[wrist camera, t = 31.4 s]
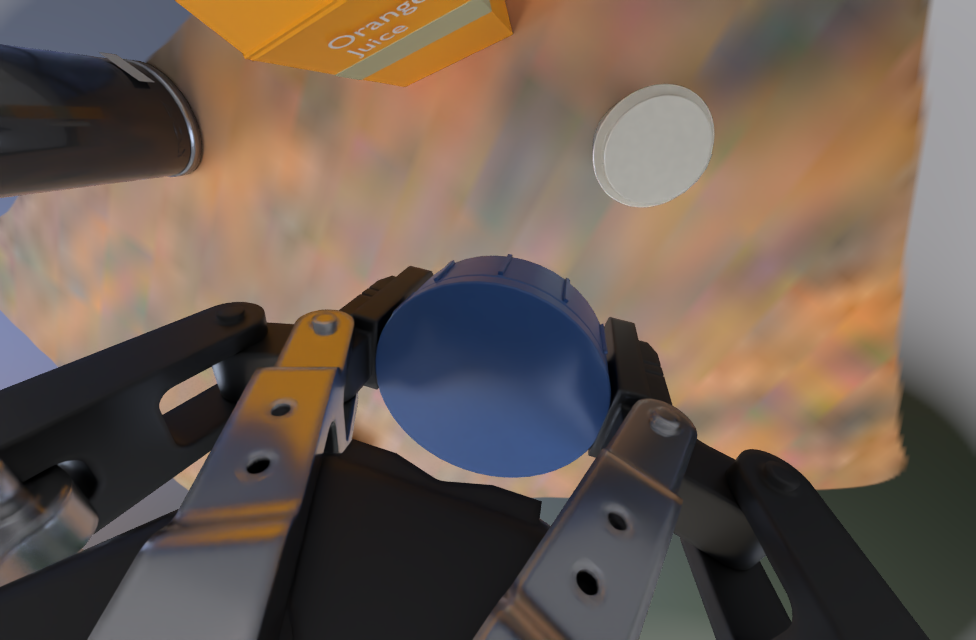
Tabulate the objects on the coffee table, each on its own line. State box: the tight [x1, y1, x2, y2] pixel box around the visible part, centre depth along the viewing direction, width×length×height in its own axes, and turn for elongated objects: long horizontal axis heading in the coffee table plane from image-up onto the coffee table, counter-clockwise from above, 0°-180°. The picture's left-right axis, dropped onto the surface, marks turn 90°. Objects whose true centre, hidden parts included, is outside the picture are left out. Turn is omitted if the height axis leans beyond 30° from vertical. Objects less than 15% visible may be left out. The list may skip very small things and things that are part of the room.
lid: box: [375, 254, 611, 477], centre depth 9 cm, size 6×6×2 cm
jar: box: [593, 84, 714, 207], centre depth 20 cm, size 5×5×11 cm
